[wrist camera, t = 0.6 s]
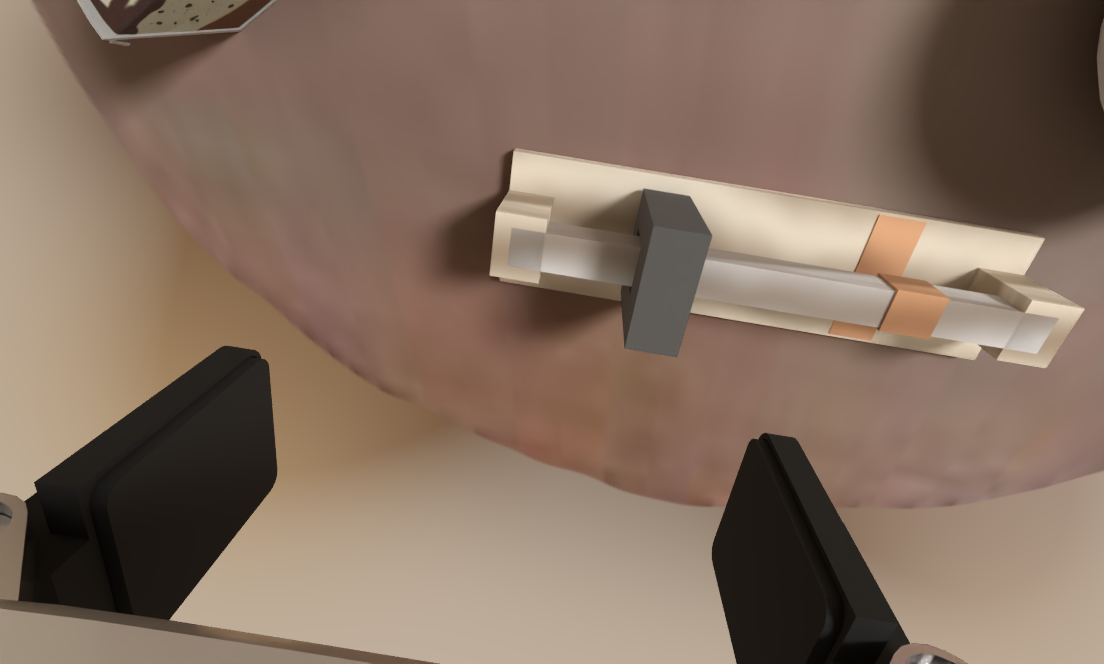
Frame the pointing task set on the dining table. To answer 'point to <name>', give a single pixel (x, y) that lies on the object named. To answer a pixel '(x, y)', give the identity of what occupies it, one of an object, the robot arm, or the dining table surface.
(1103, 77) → the bowl
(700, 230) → the collar
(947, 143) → the dining table surface
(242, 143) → the dining table surface
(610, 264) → the pipe rig
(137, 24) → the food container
